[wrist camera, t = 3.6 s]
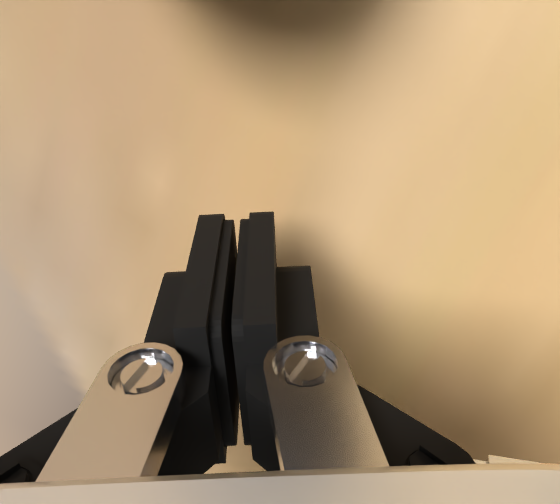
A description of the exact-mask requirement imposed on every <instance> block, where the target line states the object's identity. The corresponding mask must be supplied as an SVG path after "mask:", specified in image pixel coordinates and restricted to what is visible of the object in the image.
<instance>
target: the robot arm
mask: <svg viewBox="0 0 560 504" xmlns="http://www.w3.org/2000/svg"><path fill="white" fill-rule="evenodd" d="M239 402H240V411H241V419H242V428H243V436H244V444H245V445H251V447H252V456H253V460H254V461H256V462H257V463H258V464H259V465H260V466H262V467H263V468H264V469H265V470H266V471H261V472H238V473H215V474H204V473H205V472H206V471H207V470H208V469H210V468H211V467H212V466H213V465H214V464H219V463H226V453H227V446H234V445H237V434H238V417H239ZM0 504H560V464H546V463H540V462H533V461H527V460H520V459H514V458H507V457H501V456H494V455H488V458H487V461H481V460H475V459H472V458H471V456H470V455H469V454H468V453H467V452H466V451H464V450H463V449H462V448H460V447H459V446H458V445H457V444H455V443H453V442H452V441H450V440H448V439H447V438H445V437H443V436H442V435H440V434H438V433H437V432H435V431H433V430H432V429H430V428H429V427H427V426H425V425H424V424H422V423H420V422H419V421H417V420H415V419H414V418H412V417H410V416H409V415H407V414H405V413H404V412H402V411H400V410H399V409H397V408H395V407H394V406H392V405H390V404H389V403H387V402H385V401H384V400H382V399H381V398H379V397H377V396H376V395H374V394H372V393H371V392H369V391H367V390H366V389H364V388H362V387H361V386H359V385H357V384H356V382H355V379H354V377H353V374H352V372H351V369H350V367H349V364H348V362H347V359H346V357H345V355H344V354H343V352H342V351H341V349H340V348H339V347H338V346H336V345H335V344H334V343H332V342H331V341H328V340H326V339H323V338H321V337H319V332H318V324H317V316H316V308H315V300H314V292H313V284H312V276H311V268H310V266H292V267H277V263H276V244H275V226H274V212H256V213H250V216H249V219H241V221H240V231H239V242H238V253H237V246H236V236H235V226H234V220H225V216H224V214H213V215H199V218H198V222H197V226H196V231H195V235H194V239H193V243H192V247H191V252H190V256H189V260H188V264H187V269H186V271H184V272H167V273H165V274H164V277H163V280H162V283H161V287H160V290H159V293H158V297H157V300H156V303H155V307H154V310H153V314H152V317H151V320H150V324H149V327H148V330H147V334H146V337H145V341H144V343H140V344H136V345H133V346H129V347H127V348H125V349H123V350H121V351H119V352H117V353H116V354H114V355H113V356H112V357H110V358H109V359H108V360H107V361H106V363H105V364H104V365H103V366H102V368H101V369H100V371H99V373H98V375H97V376H96V378H95V380H94V381H93V383H92V385H91V387H90V388H89V390H88V392H87V393H86V395H85V397H84V399H83V400H82V402H81V404H80V406H79V407H78V408H77V409H76V410H74V411H72V412H71V413H69V414H68V415H66V416H65V417H63V418H61V419H60V420H58V421H57V422H55V423H53V424H52V425H50V426H49V427H47V428H45V429H44V430H42V431H40V432H39V433H37V434H36V435H34V436H33V437H31V438H30V439H28V440H27V441H25V442H23V443H21V444H20V445H18V446H17V447H15V448H13V449H12V450H10V451H9V452H7V453H6V454H4V455H2V456H1V457H0Z"/></svg>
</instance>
